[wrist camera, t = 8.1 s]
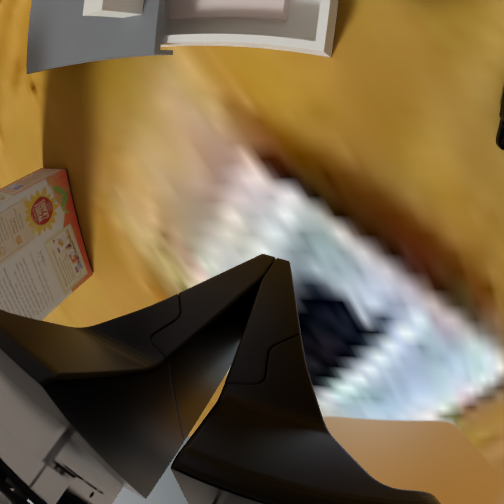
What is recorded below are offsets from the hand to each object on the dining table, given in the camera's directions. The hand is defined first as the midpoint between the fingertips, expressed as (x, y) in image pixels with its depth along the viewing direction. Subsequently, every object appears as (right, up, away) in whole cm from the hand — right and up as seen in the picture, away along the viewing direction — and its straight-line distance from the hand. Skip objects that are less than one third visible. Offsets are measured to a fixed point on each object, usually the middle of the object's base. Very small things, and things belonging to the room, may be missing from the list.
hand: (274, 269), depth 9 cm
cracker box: (-23, +4, +24) cm, 33 cm away
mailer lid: (-12, +20, +6) cm, 24 cm away
